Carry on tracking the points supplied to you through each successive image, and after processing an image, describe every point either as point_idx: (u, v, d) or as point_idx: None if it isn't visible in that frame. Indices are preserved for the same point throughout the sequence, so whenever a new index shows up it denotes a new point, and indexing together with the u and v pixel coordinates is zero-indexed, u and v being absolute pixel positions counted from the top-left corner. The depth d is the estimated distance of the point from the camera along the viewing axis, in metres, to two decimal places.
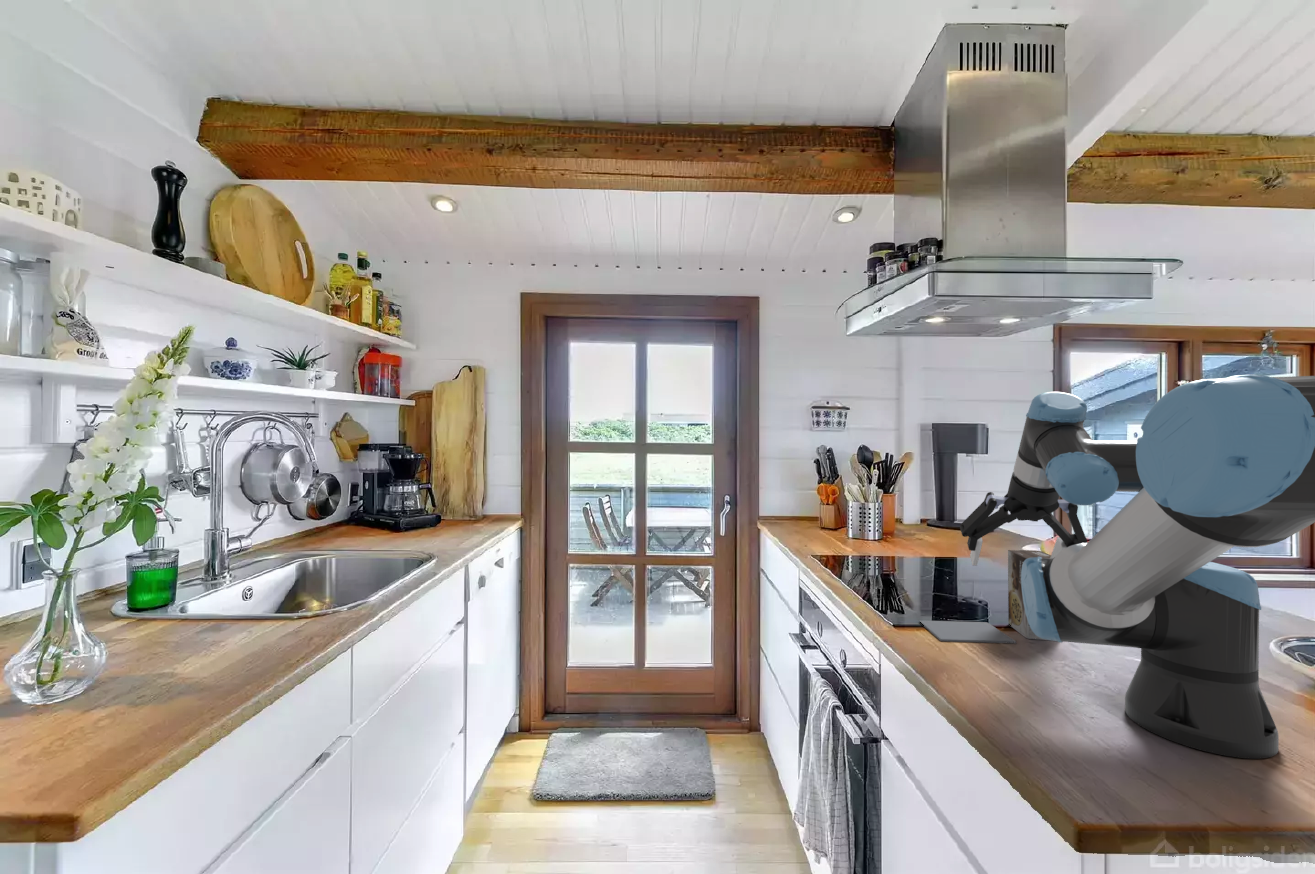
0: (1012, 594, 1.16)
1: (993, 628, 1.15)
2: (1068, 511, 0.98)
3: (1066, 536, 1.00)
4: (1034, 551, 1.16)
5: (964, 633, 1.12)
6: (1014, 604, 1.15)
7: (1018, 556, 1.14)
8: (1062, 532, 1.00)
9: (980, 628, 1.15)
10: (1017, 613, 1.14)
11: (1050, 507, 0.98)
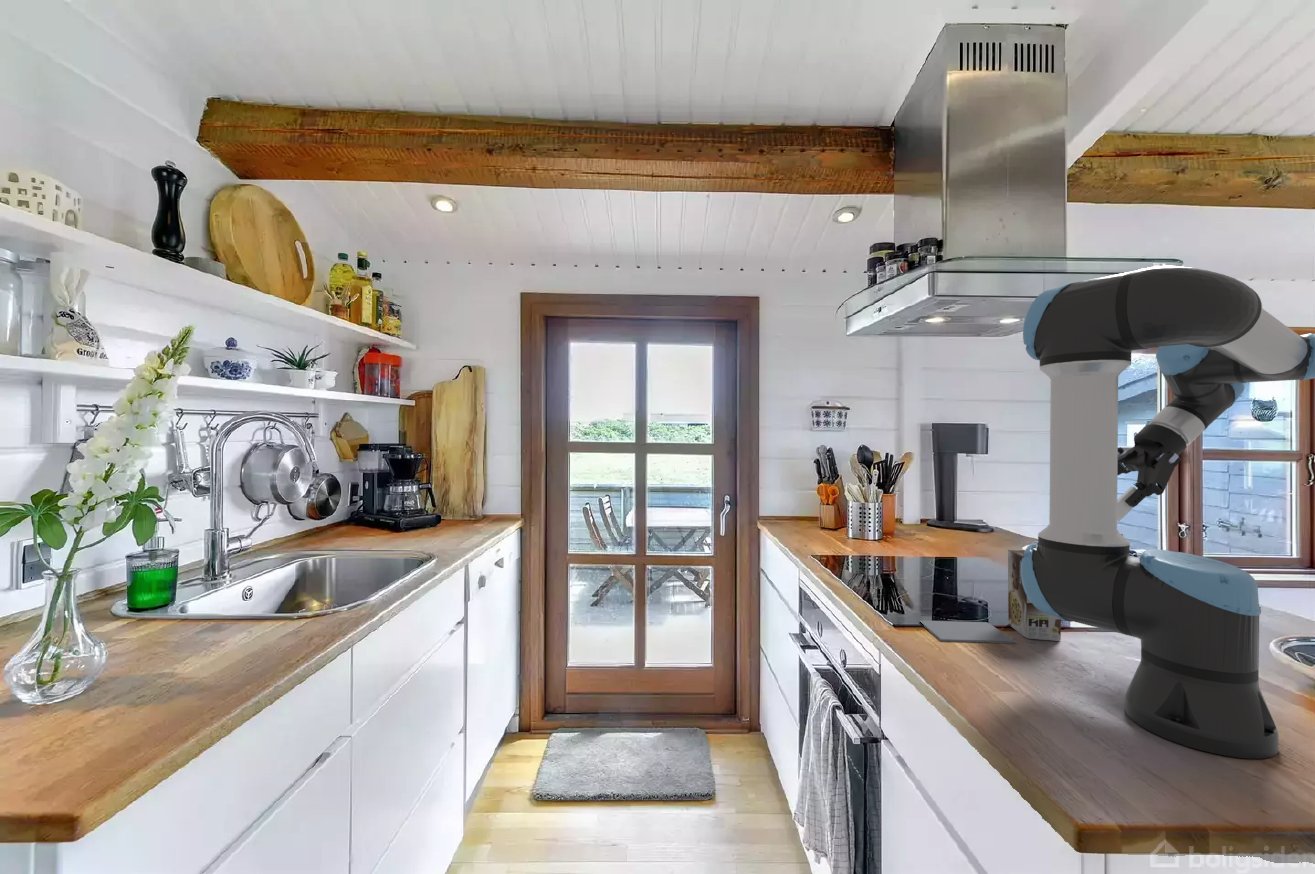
0: (1012, 594, 1.16)
1: (993, 628, 1.15)
2: (1162, 455, 1.06)
3: (1142, 477, 1.06)
4: None
5: (964, 633, 1.12)
6: (1014, 604, 1.15)
7: (1018, 556, 1.14)
8: (1142, 473, 1.07)
9: (980, 628, 1.15)
10: (1017, 613, 1.14)
11: (1152, 452, 1.09)
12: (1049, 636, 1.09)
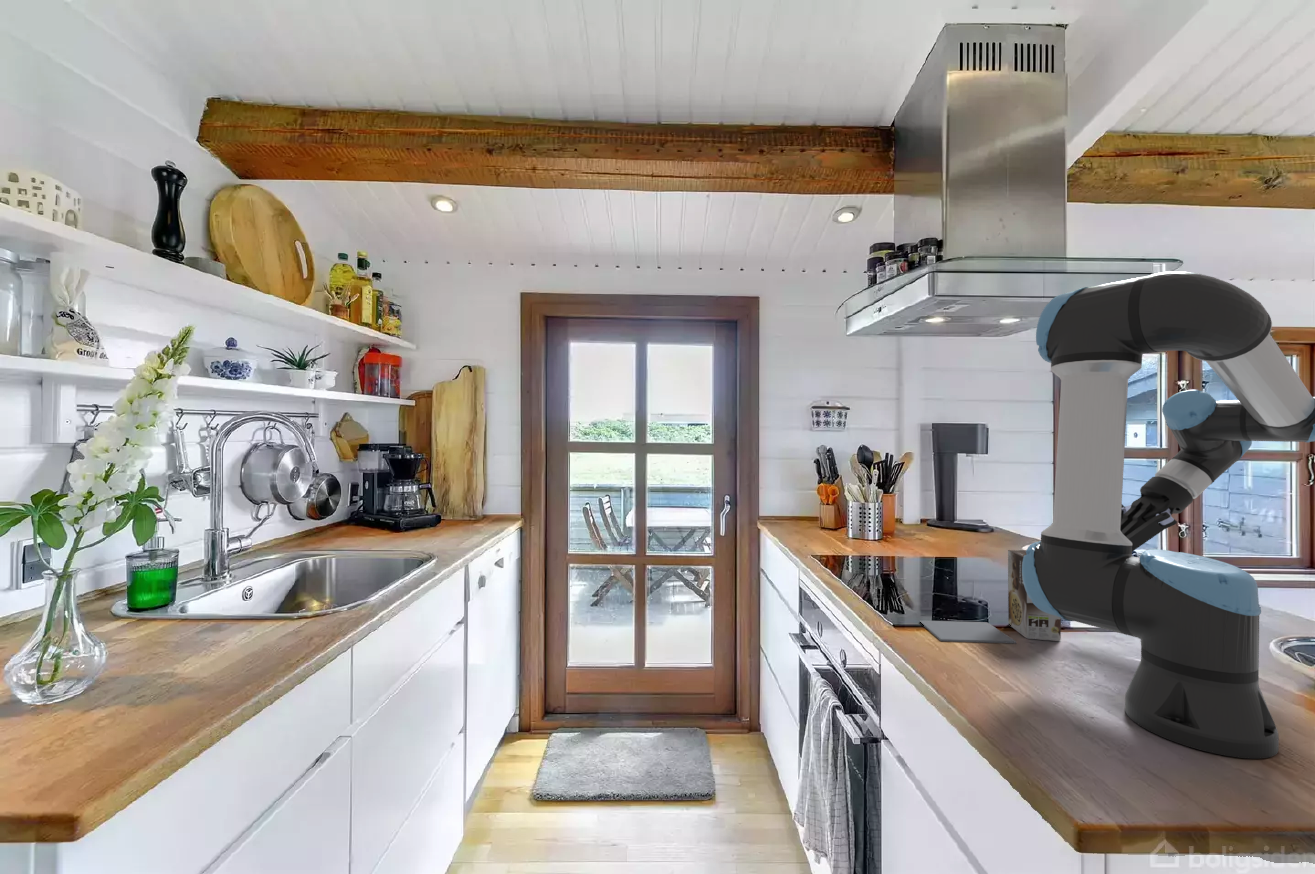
0: (1012, 594, 1.16)
1: (993, 628, 1.15)
2: (1157, 514, 1.08)
3: None
4: None
5: (964, 633, 1.12)
6: (1014, 604, 1.15)
7: (1018, 556, 1.14)
8: (1125, 530, 1.11)
9: (980, 628, 1.15)
10: (1017, 613, 1.14)
11: (1158, 506, 1.09)
12: (1049, 636, 1.09)
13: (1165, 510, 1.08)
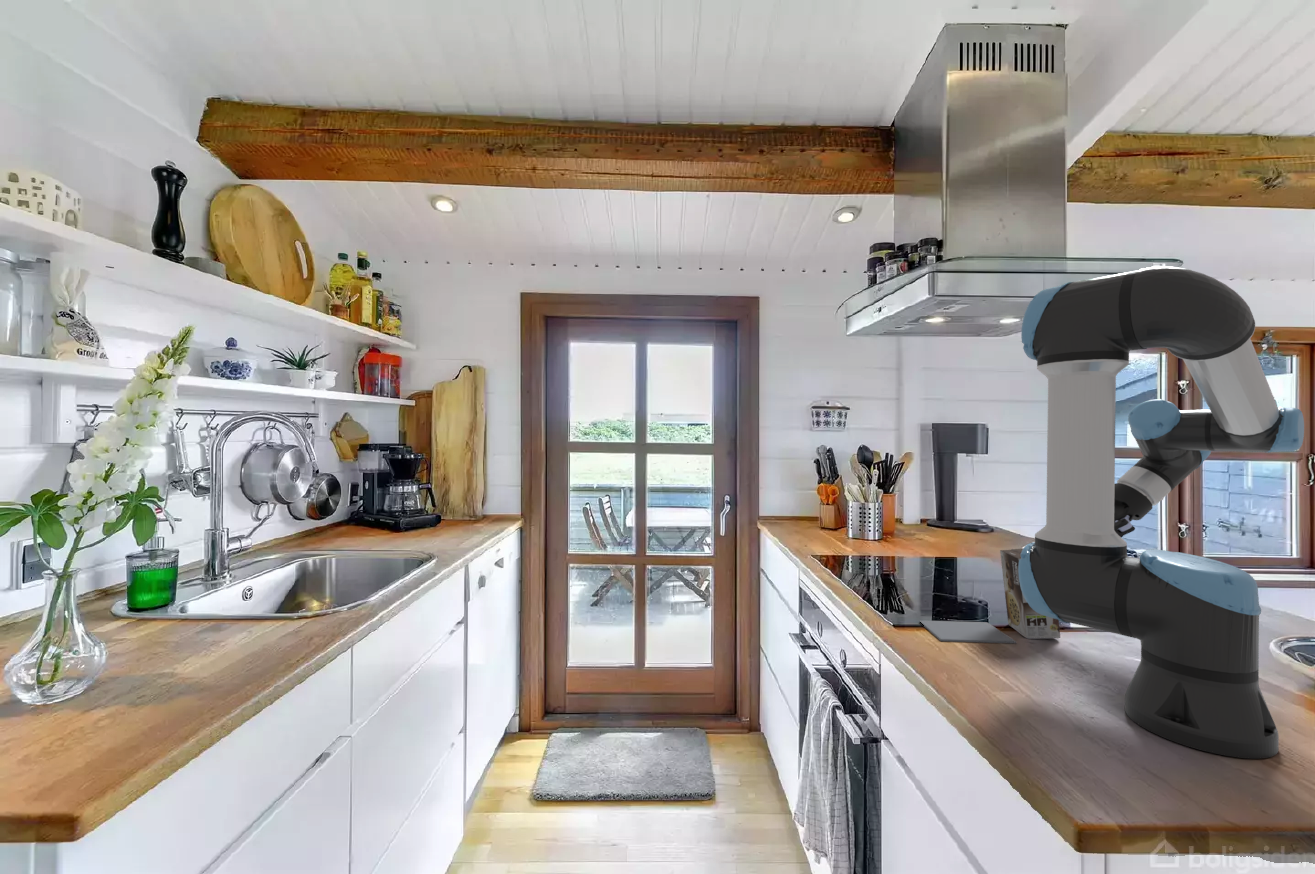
0: (1008, 594, 1.16)
1: (993, 628, 1.15)
2: (1116, 521, 1.09)
3: None
4: None
5: (964, 633, 1.12)
6: (1011, 604, 1.15)
7: (1010, 556, 1.14)
8: None
9: (980, 628, 1.15)
10: (1015, 613, 1.14)
11: (1118, 512, 1.10)
12: (1048, 634, 1.09)
13: (1124, 517, 1.09)
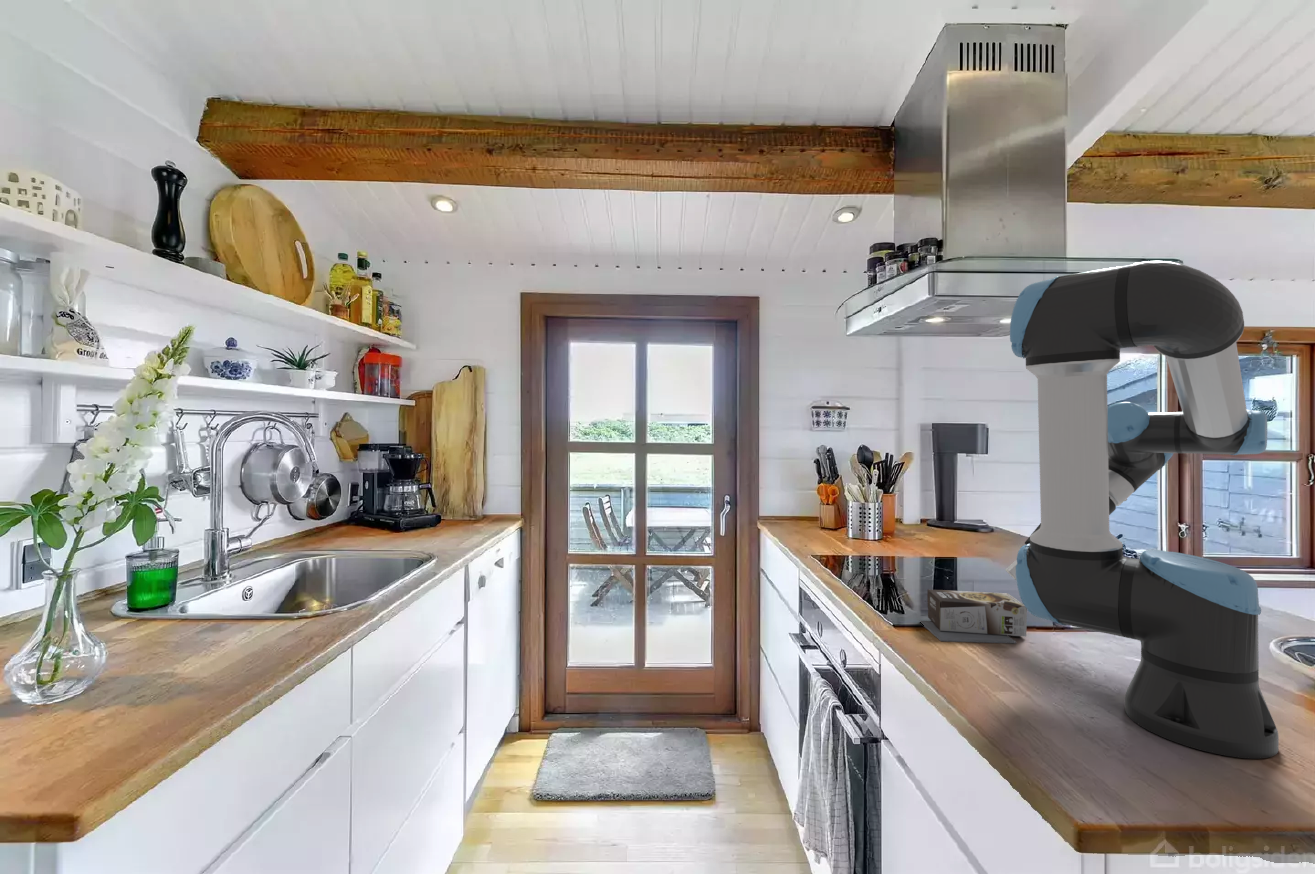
0: None
1: None
2: None
3: None
4: (929, 598, 1.20)
5: (964, 633, 1.12)
6: None
7: None
8: None
9: None
10: None
11: None
12: (1022, 616, 1.10)
13: None
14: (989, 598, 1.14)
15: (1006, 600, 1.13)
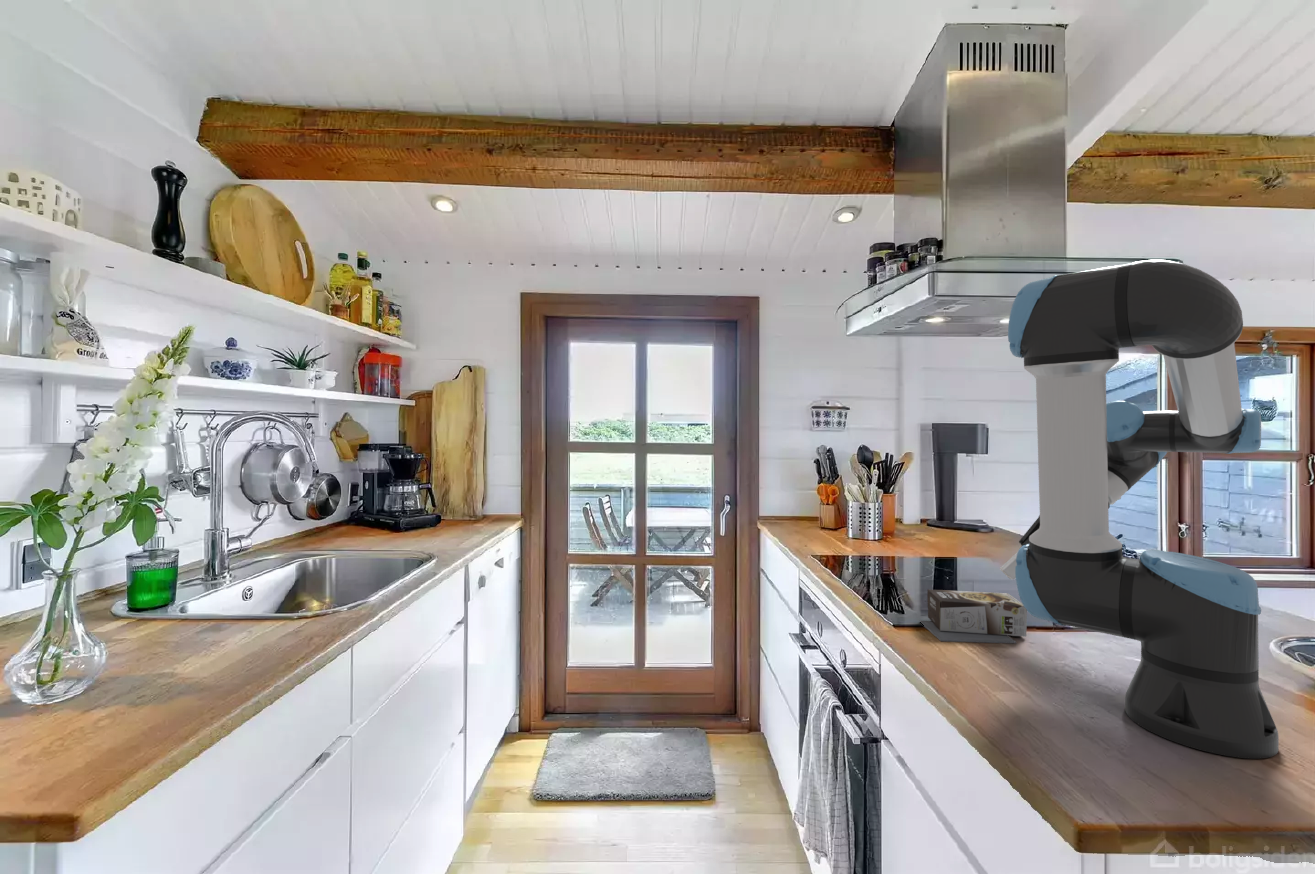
0: None
1: None
2: None
3: None
4: (929, 598, 1.20)
5: (964, 633, 1.12)
6: None
7: None
8: None
9: None
10: None
11: None
12: (1022, 616, 1.10)
13: None
14: (989, 598, 1.14)
15: (1006, 600, 1.13)
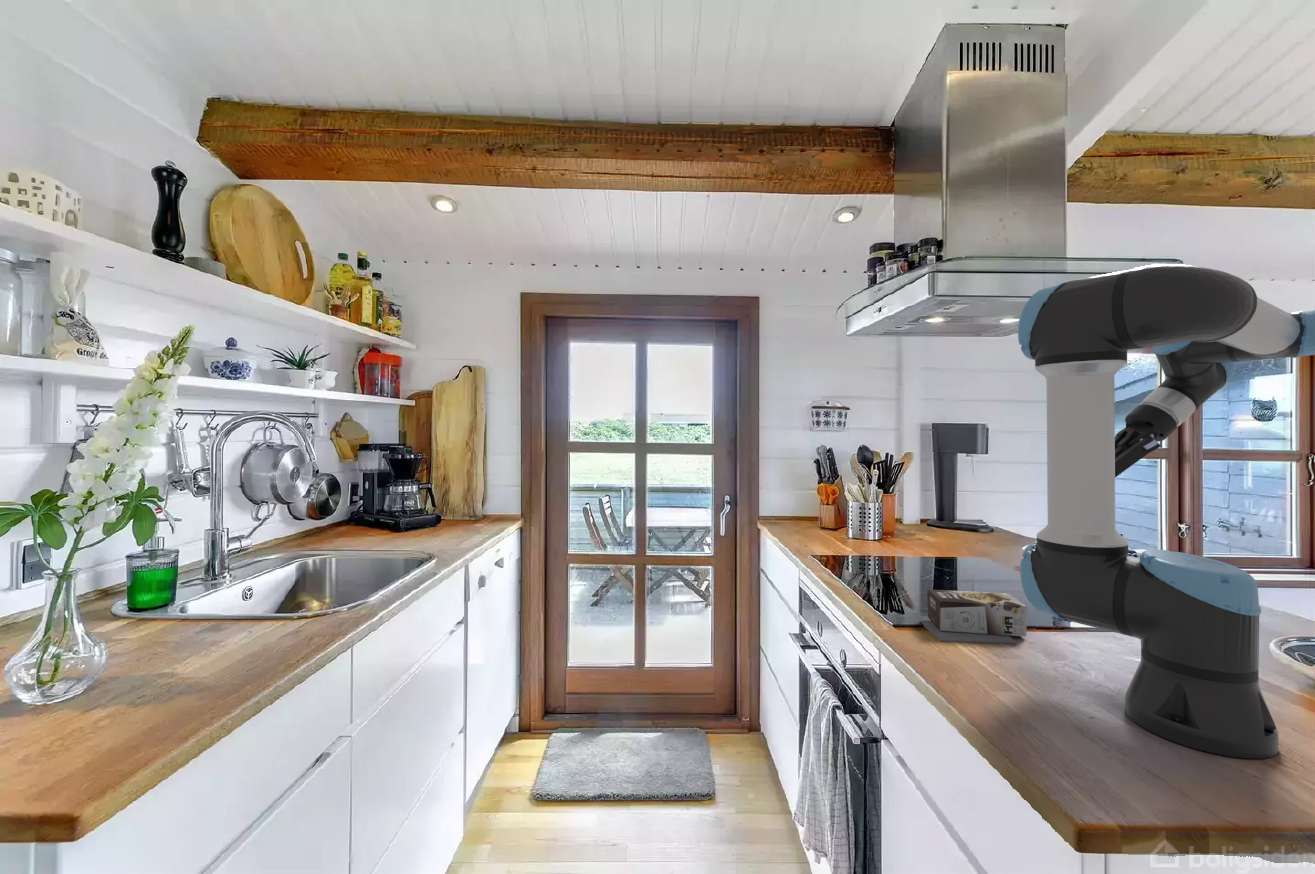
0: None
1: None
2: (1141, 439, 1.08)
3: None
4: (929, 598, 1.20)
5: (964, 633, 1.12)
6: None
7: None
8: None
9: None
10: None
11: (1143, 432, 1.09)
12: (1022, 616, 1.10)
13: (1149, 435, 1.08)
14: (989, 598, 1.14)
15: (1006, 600, 1.13)
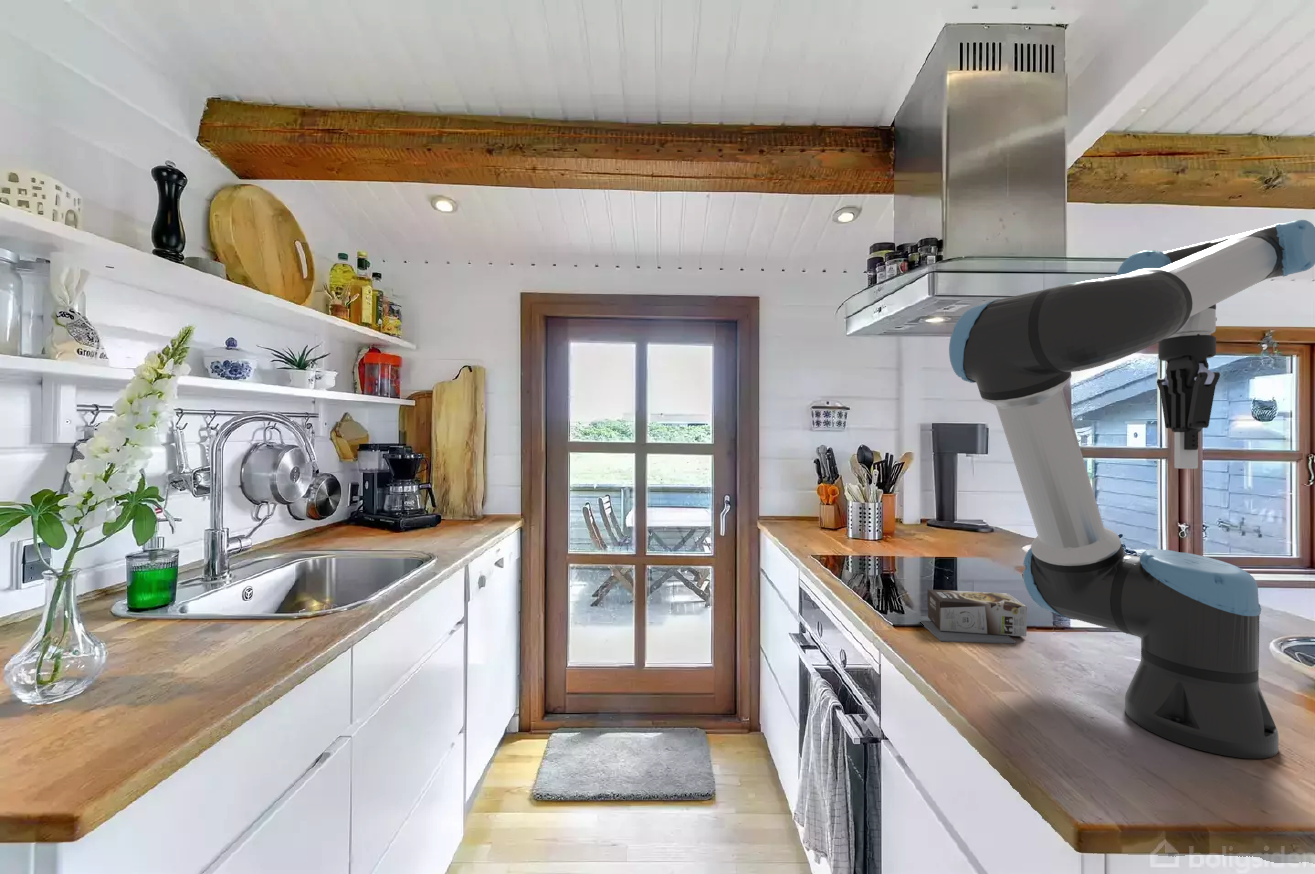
0: None
1: None
2: (1195, 378, 0.96)
3: (1184, 416, 0.99)
4: (929, 598, 1.20)
5: (964, 633, 1.12)
6: None
7: None
8: (1183, 409, 0.99)
9: None
10: None
11: (1189, 367, 0.98)
12: (1022, 616, 1.10)
13: (1198, 368, 0.96)
14: (989, 598, 1.14)
15: (1006, 600, 1.13)
